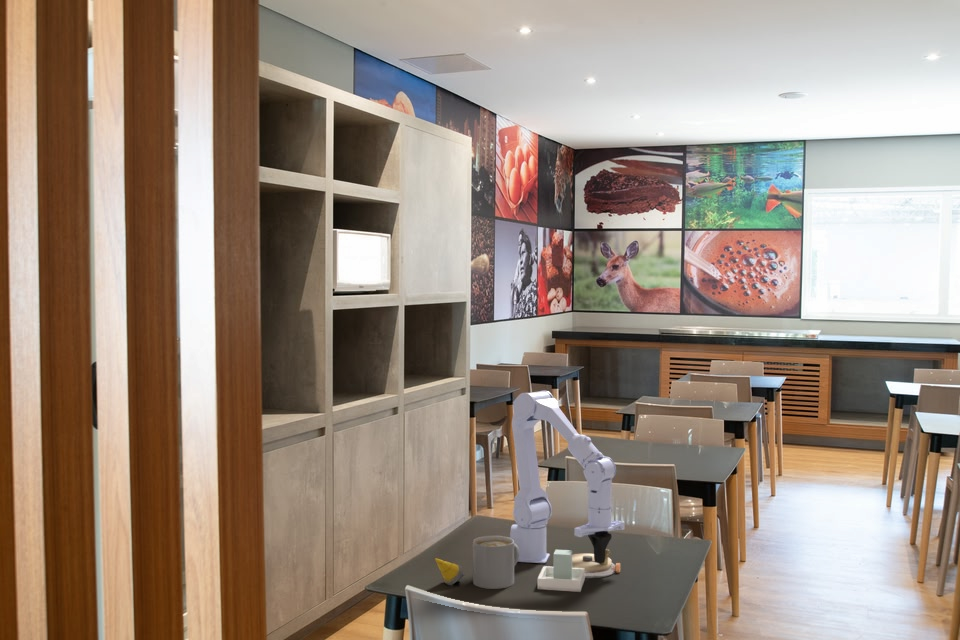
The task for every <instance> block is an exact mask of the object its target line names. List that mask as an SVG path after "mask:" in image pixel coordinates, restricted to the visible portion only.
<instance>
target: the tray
mask: <svg viewBox="0 0 960 640" xmlns="http://www.w3.org/2000/svg"><path fill="white" fill-rule="evenodd" d="M585 579H586V578H585V568H572V579H556V578H554V570H553V566H549V565H548V566H547V565H544V566H543V567H542V568H541V570H540V572H539V574H538V576H537V590H547V591H562V592H577V593H581V591H582V589H583V586H584V582H585Z"/></svg>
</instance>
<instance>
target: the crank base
mask: <svg viewBox="0 0 960 640" xmlns="http://www.w3.org/2000/svg"><path fill="white" fill-rule="evenodd" d="M617 573H621V563H620V562H616V563H615V564H614V563H613V562H612V566H611V568H609V569H607V570H604V571H598V572H585V579H598V578H606V577H610V576H612V575H614V574H617Z"/></svg>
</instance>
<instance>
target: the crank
mask: <svg viewBox="0 0 960 640" xmlns="http://www.w3.org/2000/svg"><path fill="white" fill-rule="evenodd" d="M610 554H611V550H610V549H607V548H606V550H605V562H604V563H598V562H595V560H594V553H589V552H588V553H584V552H583V553H572V568H585V572H598V571H604V570H607V569H609V568H611V566H612V563H613V562H612V559H611V558H610V557H609V555H610Z"/></svg>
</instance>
